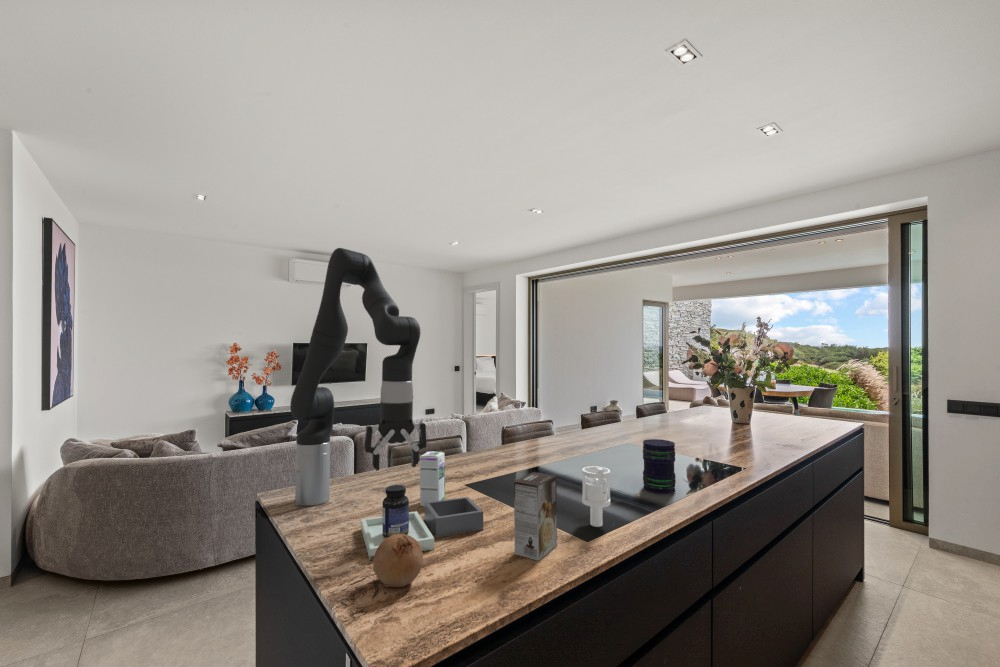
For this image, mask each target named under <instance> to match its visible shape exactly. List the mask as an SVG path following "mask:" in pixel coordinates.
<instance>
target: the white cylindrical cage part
mask: <svg viewBox="0 0 1000 667" xmlns="http://www.w3.org/2000/svg"><path fill="white" fill-rule="evenodd" d="M581 471H582V472H581V473H582V474H581V475H582V497H581V499H582V500H581V501H582V504H583V505H585V506H587V507H590V513H589V514H590V516H589V517H590V526H592V527H596V528H600V527H602V526H603V508H606V507H607V508H608V507H609V506H611V470H610V469H609V468H607V467H604V466H603V467H602V466H596V465H595V466H592V465H591V466H585V467H583V468H582V470H581ZM595 472H596V473H595Z"/></svg>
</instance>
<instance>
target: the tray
mask: <svg viewBox="0 0 1000 667" xmlns="http://www.w3.org/2000/svg"><path fill="white" fill-rule="evenodd" d="M360 530H361V533H362V537H363V540H364V544H365V547H366V548H365V549H366V552H367V556H368V559H369V561H370V562H373V561H372V560H373V559H374V555H375V552H376V550H377V548H378V547H379V545H380V544H381V543H382V542H383V541H384V540H385V539H386V538H385V537H384V536H383V515H382V516H375V517H368V518H361V520H360ZM407 535H409V536H411V537H412V538H414V539H415V540H416V541H417V542H418V543H419V545H420V546H421V549H422V551H424V552H428V550H429V551H434V550H435V536H434V534H433V533H432V531H431V530H430V528H429V527H428V525H427V524H426V522H425V520H423V518H422V517H421V515H420V513H419V512H418V511H409V533H408V534H407ZM433 549H434V550H433Z"/></svg>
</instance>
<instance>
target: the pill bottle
mask: <svg viewBox="0 0 1000 667" xmlns="http://www.w3.org/2000/svg"><path fill="white" fill-rule="evenodd" d="M406 488H407V487H406V485H403V484H391V485H389V486H386V487H385V495H386V497H385V498H383V500H382V516H383V536H384V537H385V538H388V537H390V536H392V535H396V534H405V535H407V534H408V533H409V512H410V510H409V508H410V507H409V506H410V505H409V504H410V503H409V501H410V500H409V498H408V496H406V493H407V490H406Z"/></svg>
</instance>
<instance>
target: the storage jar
mask: <svg viewBox="0 0 1000 667" xmlns="http://www.w3.org/2000/svg"><path fill="white" fill-rule="evenodd" d="M675 447H676V443H675V442H674V441H670V440H667V439H657V438H656V439H655V438H654V439H652V438H651V439H650V438H649V439H644V440H643V441H642V459H643V471H642V481H643V482H642V483H643V487H642V488H643V490H644V491H646V492H648V493H651V494H655V495H671V494H672V493H673V494H675V493H676V488H675V487H676V481H677V479H676V477H677V476H676V473H675V462H676V448H675ZM674 492H675V493H674Z"/></svg>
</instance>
